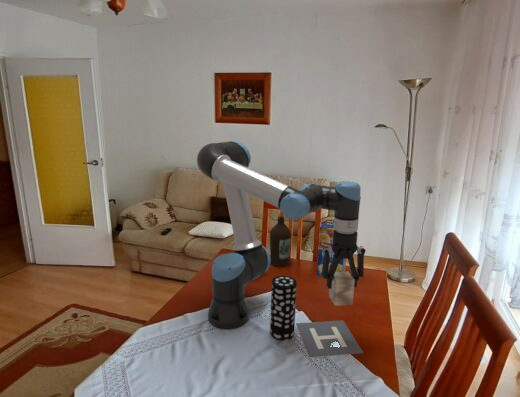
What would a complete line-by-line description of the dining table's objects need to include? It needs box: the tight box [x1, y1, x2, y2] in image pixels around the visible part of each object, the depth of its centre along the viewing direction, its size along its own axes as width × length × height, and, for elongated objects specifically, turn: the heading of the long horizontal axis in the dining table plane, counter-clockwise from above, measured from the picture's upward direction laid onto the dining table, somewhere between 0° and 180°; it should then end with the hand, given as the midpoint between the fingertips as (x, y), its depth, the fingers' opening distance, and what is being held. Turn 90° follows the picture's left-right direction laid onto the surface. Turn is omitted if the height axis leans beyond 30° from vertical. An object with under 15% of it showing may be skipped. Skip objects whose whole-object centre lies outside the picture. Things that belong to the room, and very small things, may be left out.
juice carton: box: [316, 222, 347, 278], centre depth 162 cm, size 12×8×24 cm, turn 64°
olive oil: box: [269, 214, 292, 268], centre depth 173 cm, size 11×11×25 cm
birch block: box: [328, 270, 355, 307], centre depth 115 cm, size 6×6×9 cm
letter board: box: [295, 320, 364, 358], centre depth 118 cm, size 18×18×1 cm
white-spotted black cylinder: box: [269, 275, 298, 342], centre depth 118 cm, size 8×8×20 cm
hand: (341, 296), depth 116 cm, fingers closed on birch block, 6 cm apart
